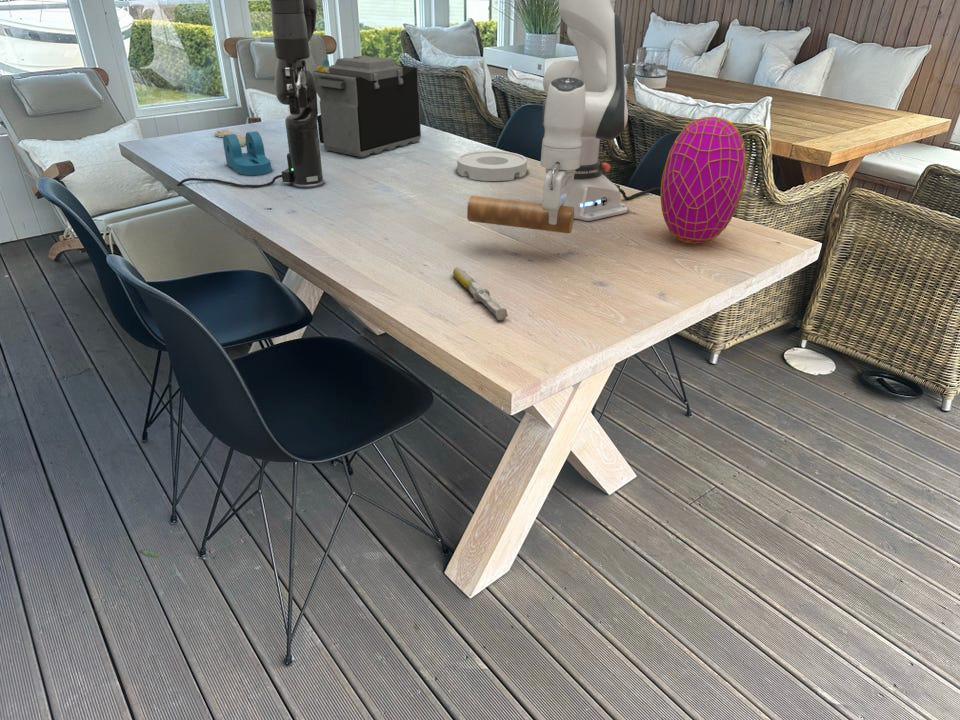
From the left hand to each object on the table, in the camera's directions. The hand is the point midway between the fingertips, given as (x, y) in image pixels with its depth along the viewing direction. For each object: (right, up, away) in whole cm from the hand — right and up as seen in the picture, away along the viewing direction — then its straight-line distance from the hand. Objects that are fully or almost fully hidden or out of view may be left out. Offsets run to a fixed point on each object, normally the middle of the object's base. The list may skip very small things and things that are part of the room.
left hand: (299, 110), depth 163 cm
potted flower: (-21, +44, +134) cm, 142 cm away
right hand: (+60, -26, -4) cm, 66 cm away
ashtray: (+47, +4, +67) cm, 82 cm away
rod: (+52, -28, -1) cm, 59 cm away
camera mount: (-34, +5, +67) cm, 75 cm away
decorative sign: (-52, +27, +104) cm, 119 cm away
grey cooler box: (+2, +21, +96) cm, 98 cm away
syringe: (+43, -46, -18) cm, 65 cm away
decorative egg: (+97, -29, +13) cm, 102 cm away
